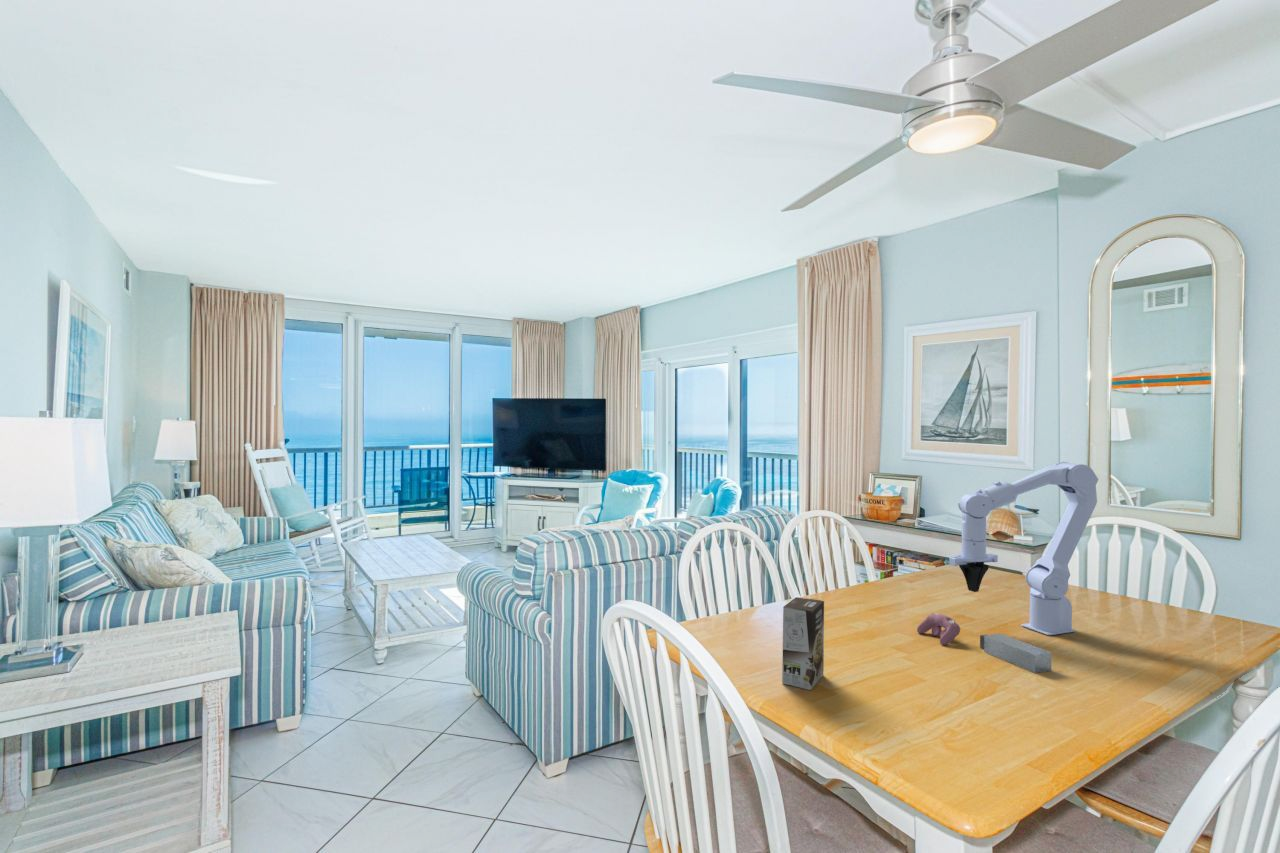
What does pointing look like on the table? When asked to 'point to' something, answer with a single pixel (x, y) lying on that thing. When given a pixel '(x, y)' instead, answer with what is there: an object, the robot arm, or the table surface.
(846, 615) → the table surface
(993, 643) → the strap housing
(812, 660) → the coffee box
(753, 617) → the table surface
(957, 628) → the video game controller
